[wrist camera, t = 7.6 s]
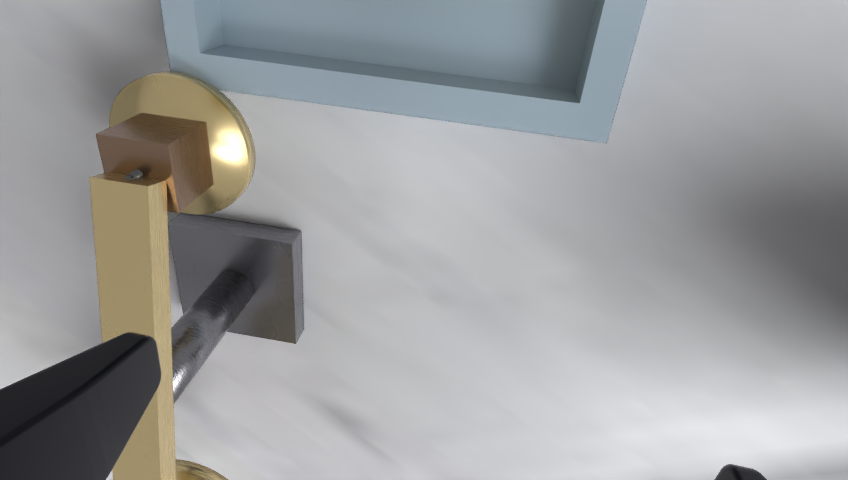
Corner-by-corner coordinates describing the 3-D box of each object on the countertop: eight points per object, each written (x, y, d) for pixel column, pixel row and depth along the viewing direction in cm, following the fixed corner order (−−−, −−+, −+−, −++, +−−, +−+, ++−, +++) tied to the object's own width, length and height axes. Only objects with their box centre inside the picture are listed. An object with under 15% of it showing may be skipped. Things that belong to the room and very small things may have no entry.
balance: (296, 62, 18) (122, 160, 10) (306, 428, 27) (220, 632, 19) (155, 43, 18) (-121, 124, 10) (212, 410, 27) (89, 602, 19)
